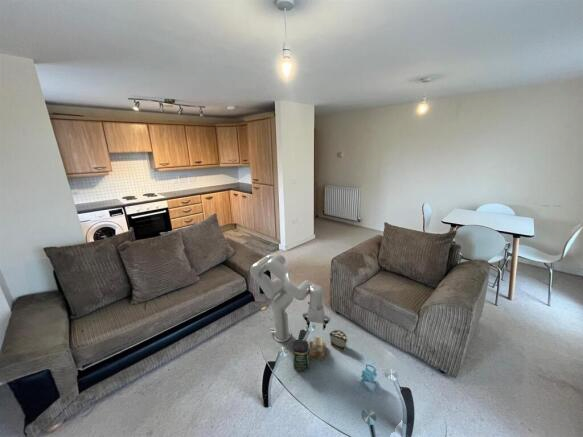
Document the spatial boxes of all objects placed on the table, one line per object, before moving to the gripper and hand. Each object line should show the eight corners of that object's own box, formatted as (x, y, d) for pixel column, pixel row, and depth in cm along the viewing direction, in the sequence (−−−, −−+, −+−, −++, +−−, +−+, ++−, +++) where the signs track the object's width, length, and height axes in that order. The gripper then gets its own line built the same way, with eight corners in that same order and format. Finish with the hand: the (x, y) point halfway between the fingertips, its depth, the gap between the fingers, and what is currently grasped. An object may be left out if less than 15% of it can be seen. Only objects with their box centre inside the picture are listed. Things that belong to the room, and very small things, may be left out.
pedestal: (309, 358, 154) (308, 353, 152) (310, 345, 163) (310, 341, 162) (324, 360, 152) (324, 356, 150) (325, 347, 161) (325, 343, 160)
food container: (349, 345, 161) (350, 333, 158) (346, 352, 156) (347, 340, 153) (332, 338, 167) (332, 326, 164) (329, 344, 163) (329, 333, 159)
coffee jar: (292, 371, 146) (291, 347, 140) (294, 359, 153) (293, 336, 147) (308, 372, 144) (307, 349, 138) (309, 361, 152) (308, 338, 146)
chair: (364, 374, 141) (364, 359, 137) (378, 382, 136) (379, 366, 132) (358, 384, 136) (359, 369, 132) (373, 393, 131) (373, 377, 127)
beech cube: (312, 351, 154) (312, 344, 152) (313, 344, 159) (313, 337, 157) (322, 352, 153) (322, 345, 151) (322, 344, 158) (322, 337, 156)
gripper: (300, 306, 144) (301, 329, 149) (330, 311, 139) (329, 334, 145) (303, 298, 150) (304, 320, 156) (331, 302, 146) (330, 325, 152)
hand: (316, 327), depth 151 cm, fingers open, 9 cm apart
